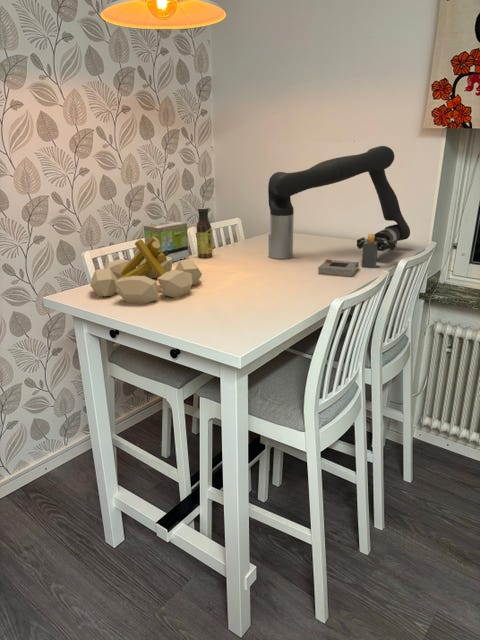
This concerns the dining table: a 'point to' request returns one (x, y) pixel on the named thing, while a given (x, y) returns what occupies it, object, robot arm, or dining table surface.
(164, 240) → the tea box
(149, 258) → the campfire
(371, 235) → the plug
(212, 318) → the dining table surface
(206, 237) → the sauce bottle
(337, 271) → the socket
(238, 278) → the dining table surface
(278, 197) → the robot arm
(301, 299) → the dining table surface
